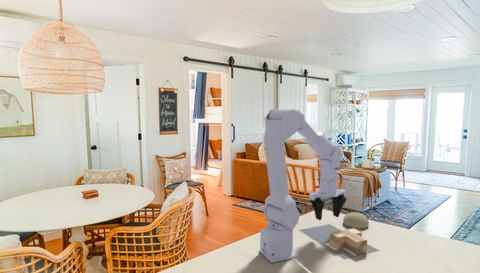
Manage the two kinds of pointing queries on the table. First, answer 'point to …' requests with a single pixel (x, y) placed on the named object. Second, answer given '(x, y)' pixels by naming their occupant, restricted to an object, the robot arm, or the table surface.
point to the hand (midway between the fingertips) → (327, 217)
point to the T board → (323, 237)
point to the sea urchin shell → (355, 220)
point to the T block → (349, 241)
